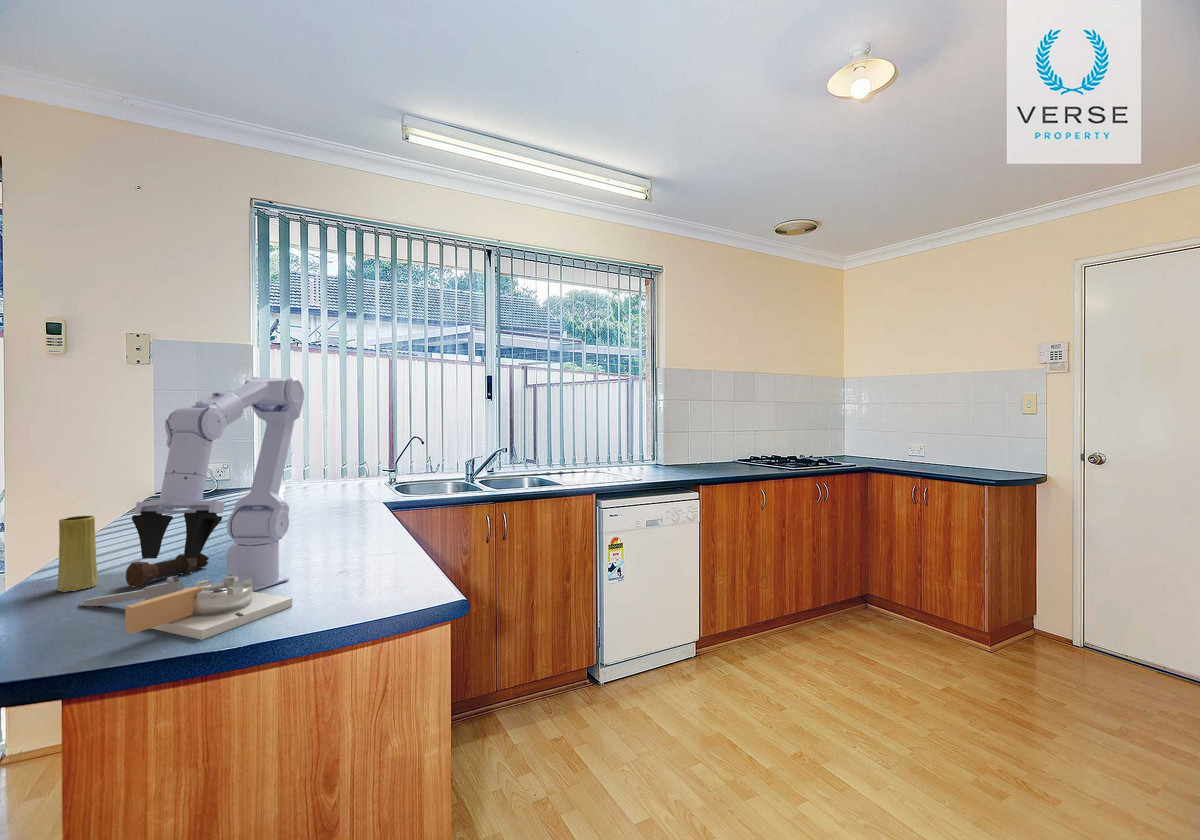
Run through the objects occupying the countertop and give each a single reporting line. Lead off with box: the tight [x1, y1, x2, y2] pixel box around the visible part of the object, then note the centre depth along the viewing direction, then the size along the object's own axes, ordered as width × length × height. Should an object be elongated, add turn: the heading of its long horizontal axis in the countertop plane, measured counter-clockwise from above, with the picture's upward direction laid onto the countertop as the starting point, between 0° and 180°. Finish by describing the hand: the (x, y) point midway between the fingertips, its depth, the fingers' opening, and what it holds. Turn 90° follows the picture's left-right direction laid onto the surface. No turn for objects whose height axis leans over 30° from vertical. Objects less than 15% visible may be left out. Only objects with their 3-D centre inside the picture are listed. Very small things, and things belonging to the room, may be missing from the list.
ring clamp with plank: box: [124, 575, 253, 634], centre depth 91 cm, size 18×10×4 cm, turn 159°
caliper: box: [78, 574, 185, 607], centre depth 99 cm, size 20×1×6 cm, turn 85°
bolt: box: [125, 552, 209, 588], centre depth 118 cm, size 6×5×15 cm
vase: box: [56, 515, 99, 592], centre depth 110 cm, size 6×6×14 cm
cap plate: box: [150, 591, 293, 641], centre depth 95 cm, size 16×16×2 cm
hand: (170, 558), depth 89 cm, fingers open, 7 cm apart
